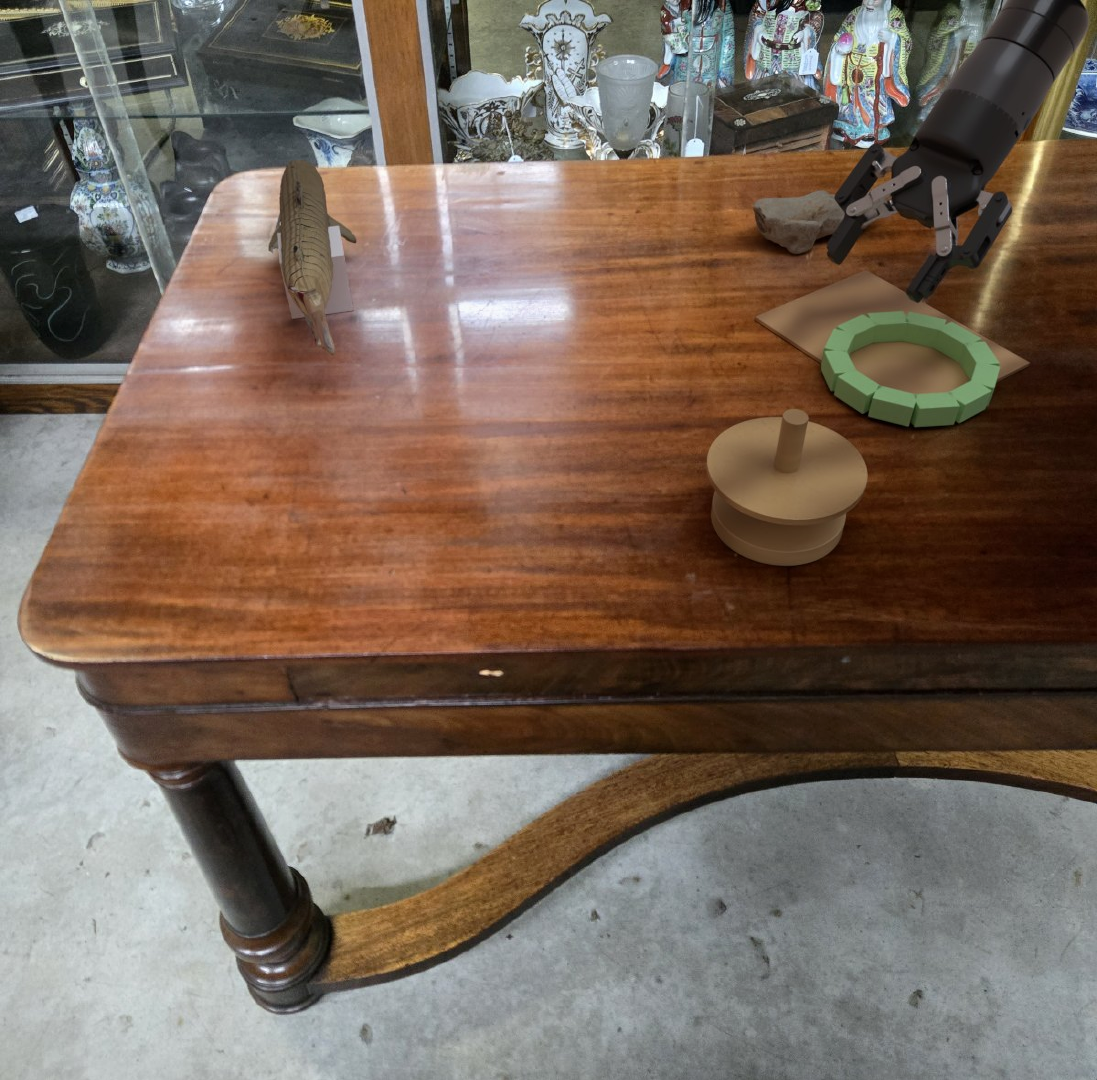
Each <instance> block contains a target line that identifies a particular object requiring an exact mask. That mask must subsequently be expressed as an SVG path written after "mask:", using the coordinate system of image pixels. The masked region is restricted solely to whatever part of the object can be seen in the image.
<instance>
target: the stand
mask: <svg viewBox="0 0 1097 1080" xmlns="http://www.w3.org/2000/svg"><path fill="white" fill-rule="evenodd" d="M809 420H810V417H809V415H808V413H807V412H805V411H804V410H802V409H799V408H789V409H787V410H785V411H784V412H783V413H782V416H767V417H758V418H753V419H748V420H744V421H741V422H739V423H736V424H734V425H732V426H730V427H729V428H727V429H725V430H724V431H722V432H721V433H720V434H719V435H718V436H717V437H716V438H715V439H714V440H713V441H712V443H711V445H710V447H709V449H708V452H707V456H706V464H705V465H706V466H705V468H706V469H705V470H706V475H707V478H708V480H709V483H710V485H711V487H712V489H713V490H714V492H713V496H712V503H711V511H710V519H711V524H712V527H713V529H714V532H715V533H716V535H717V537H718V538H719V539H720V540H721V541H722V542H723V543H724V545H726V546H727V547H728V548H729V549H731V550H732V551H733V552H735V553H736V554H738V555H740V556H741V557H744V558H746V559H749V560H752V561H754V562H756V563H760V564H764V565H770V566H778V567H781V566H782V567H792V566H793V567H794V566H802V565H805V564H809V563H810V564H811V563H813V562H815V561H818V560H820V559H822V558H824V557H825V556H827V555H829V554H830V553H831V552H832V551H833V550H834V549H835V548H836V547H837V545H838V544H839V542H840V541H841V539H842V535H843V531H844V528H845V523H846V520H847V513H849V512H850V511H851V510H852V509H853V508H855V507H856V506H857V505H858V504H859V502H860V501H861V500H862V498H863V496H864V494H865V491H866V487H867V483H868V476H869V475H868V474H869V473H868V468H867V465H866V462H865V459H864V458H863V456H862V454H861V453H860V451H859V450H858V449H857V448H856V446H854V444H852V443H851V442H850V441H849V440H847V438H845V437H844V436H842V435H841V434H839V433H838V432H836V431H834V430H832V429H830V428H828V427H826V426H823V425H821V424H819V423H816V422H813V421H809Z"/></svg>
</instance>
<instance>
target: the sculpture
mask: <svg viewBox="0 0 1097 1080" xmlns="http://www.w3.org/2000/svg"><path fill="white" fill-rule="evenodd" d="M869 193H870V191H869V192H868V193H867V194H866V196H867V195H868V194H869ZM835 194H836V193H835ZM835 194H834V193H833V194H832V193H829V192H828V191H826V190H824V189H823V190H822V189H821V190H819V189H818V190H815V191H812V192H810V193H807V194H805V195H801V196H797V197H763V198H760V199H758V200H756V202H754V204H753V206H752V210H753V212H754V220H755V223H756V227H757V229H758V231H759V233H760V234H761V235H762V236H763V237H764V239H766V240H769V241H771V242H772V243H774V244H778V245H779V246H780V247H783V248H786V249H787V250H788V252H789V253H791V254H794V255H799V254H803V253H806V252H809V251H810V250H811V249H812V248H813V246H814V244H815V241H816V240H819V239H821V238H824V237H827V236H830V235H833V234H834V233H835V230H836V229H837V227H838V226H839V224H840V223H841V221H842V220H843V218H844V215H845V214H844V212H843V210H842V209H841V208H840V206H839V205H838V204H837V202H836V201H835V199H834V197H835ZM873 222H875V221H873ZM873 222H871V223H869V224H867V225H865V226H863V227H861V228H862V229H863V230H864V229H866V228H868V227H869V226H871V224H872V223H873Z"/></svg>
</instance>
